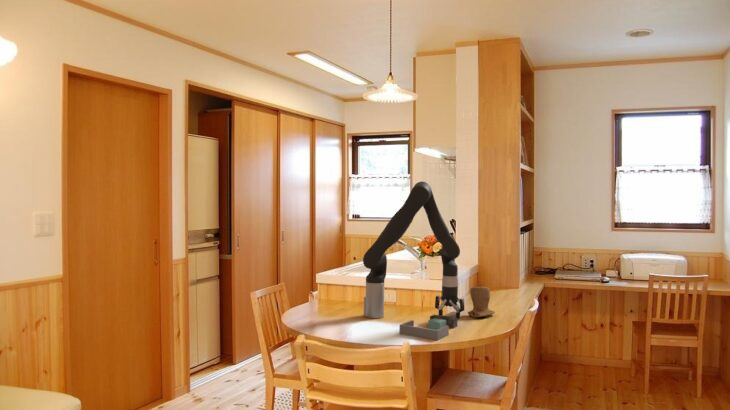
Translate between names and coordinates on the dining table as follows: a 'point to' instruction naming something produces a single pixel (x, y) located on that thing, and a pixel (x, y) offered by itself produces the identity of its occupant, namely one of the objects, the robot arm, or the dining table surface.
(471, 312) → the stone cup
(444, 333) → the box
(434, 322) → the teal square block
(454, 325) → the long-handled tray
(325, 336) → the dining table surface
